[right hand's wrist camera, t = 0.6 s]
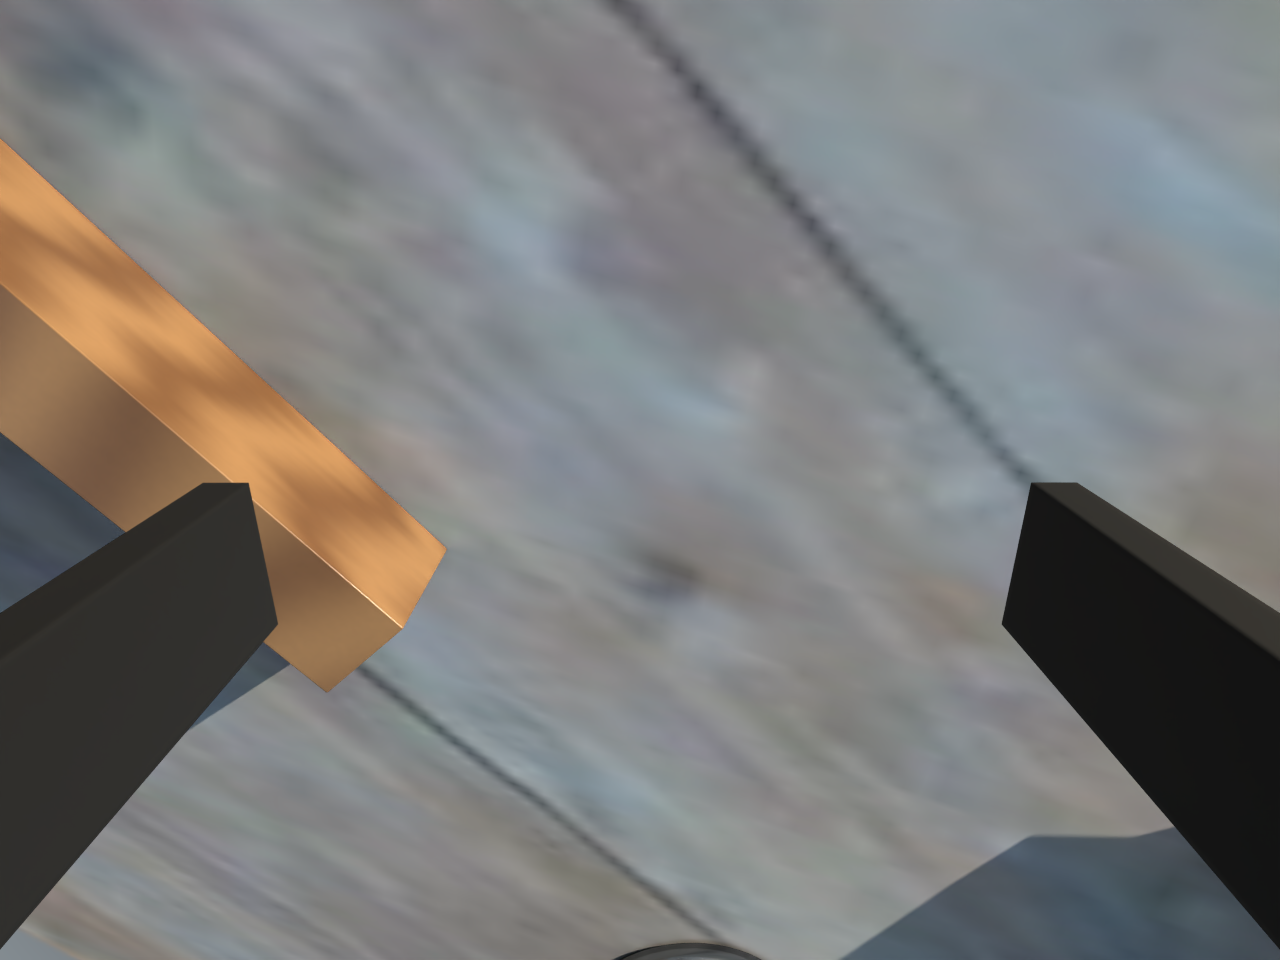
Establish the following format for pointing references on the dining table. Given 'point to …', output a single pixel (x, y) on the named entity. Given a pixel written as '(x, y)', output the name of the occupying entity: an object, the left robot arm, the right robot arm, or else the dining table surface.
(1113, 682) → the right robot arm
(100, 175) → the dining table surface
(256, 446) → the beam
